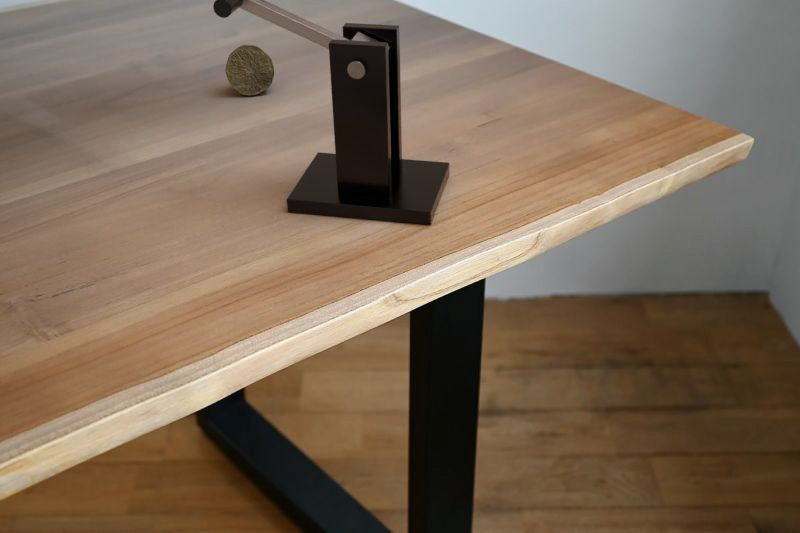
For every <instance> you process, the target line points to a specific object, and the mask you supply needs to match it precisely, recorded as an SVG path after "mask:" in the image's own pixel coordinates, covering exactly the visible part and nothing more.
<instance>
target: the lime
mask: <svg viewBox="0 0 800 533" xmlns="http://www.w3.org/2000/svg"><path fill="white" fill-rule="evenodd" d="M273 63H274V62H273V60H272V58H271V57H270V55H269V54H268V53H266V51H264V50H263V49H262V48H261V47H260V46H258V45H252V44H243V45H240V46H238V47H237V48H235V49H234V50H233V51H232V52H230V54H229V55H228V58H227V60H226V63H225V70H224V71H225V76H226V78H227V80H228V83H229V84H230V86H231V87H232V88H233V89H234V90H235V91H236V92H237V93H239V94H241V95H243V96H257V95H259V94H261V93H264V92H265V90H267V89H268V88H270V86H271V85H272V84H273V80H274V76H275V67H274V64H273Z"/></svg>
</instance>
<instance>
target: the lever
mask: <svg viewBox="0 0 800 533" xmlns="http://www.w3.org/2000/svg"><path fill="white" fill-rule="evenodd" d="M212 8H213V11H214V13H215V14H216V16H218V17H219V18H223V19H226V18H228V17H229V16H231V15H232V14H234V13H235V12H236V11H237V10H239V9H241V10H243V11H245V12H248V13H250V14H251V15H254V16H255V17H259V18H261V19H262V20H265V21H267V22H269V23H271V24H273V25H276V26H278V27H279V28H282V29H284V30H287V31H288V32H290V33H293V34H294V35H297V36H299V37H302V38H304V39H306V40H308V41H310V42H311V43H315V44H317V45H319V46H322V47H323V48H325V49H327V50H329V43H330V41H331V40H349V39H347V38H344V37H343V35H340V34H338V33H336V32H333V31H331V30H329V29H327V28H325V27H322V26H321V25H319V24H317V23H314V22H312V21H310V20H308V19H306V18H304V17H301V16H299V15H297V14H295V13H292V12H290V11H288V10H286V9H284V8H281V7H280V6H277V5H276V4H273V3H271V2H269V1H267V0H215V1H214V2H213V6H212ZM351 41H370V42H379V41H377V40H375V39H373V38H371V37H369V36H366V35H364V34H362V33H360V32H357V33H356V35H355V36H354V37H353V39H352V40H351ZM389 48H390V46H388V51H389Z"/></svg>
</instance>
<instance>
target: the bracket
mask: <svg viewBox="0 0 800 533" xmlns="http://www.w3.org/2000/svg"><path fill="white" fill-rule="evenodd" d="M357 32H360V33H362V34H364V35H366V36H369V37H371V38H373V39H375V40H377V41H379V42H370V41H351V40H352V39H353V37H354V36H355V35H356V33H357ZM400 32H401V31H400V25H396V24H395V25H393V24H377V23H375V24H373V23H357V22H356V23H355V22H345V23H344V24H343V25H342V37H344V38H347V39H349V40H331V41H330V43H329V49H328V56H329V71H330V74H329V75H330V87H331V88H330V89H331V102H332V104H331V105H332V120H333V135H334V152H335V153H332V152H331V153H329V152H316V155H315V156H314V157H313V159H312V160H311V162H310V163H309V165H308V166H307V168H306V169H305V171H304V173H303V174H302V176H301V177H300V178H299V180H298V182H297V183H296V185H295V186H294V187H293V189H292V190H291V193H289V195H288V196H287V198H286V209H287V212H288V213H297V214H308V215H317V216H318V215H319V216H328V217H329V216H330V217H339V218H340V217H341V218H352V219H362V220H373V221H382V222H383V221H384V222H394V223H405V224H415V225H426V226H431V224H432V223H433V220H434V217H435V214H436V212H437V210H438V206H439V203H440V201H441V198H442V196H443V194H444V193H443V192H444V190H445V187H446V184H447V181H448V179H449V176H450V162H446V161H432V160H421V159H420V160H419V159H406V158H403V145H402V144H403V141H402V140H403V138H402V136H403V135H402V96H401V94H402V93H401V85H402V84H401V41H400V39H401V38H400V35H401V34H400ZM388 46H390V48H389V51H388Z"/></svg>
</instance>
